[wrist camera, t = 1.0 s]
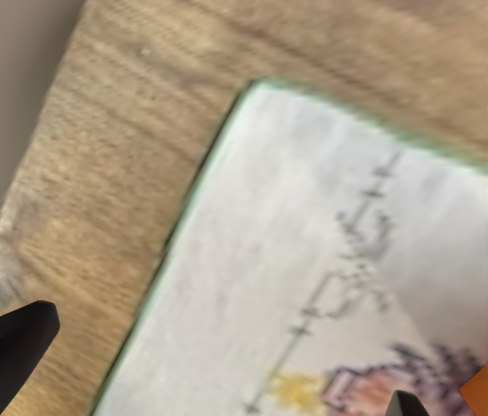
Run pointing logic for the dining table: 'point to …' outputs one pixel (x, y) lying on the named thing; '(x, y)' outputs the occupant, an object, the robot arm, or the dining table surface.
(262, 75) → the dining table surface
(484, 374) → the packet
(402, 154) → the dining table surface
